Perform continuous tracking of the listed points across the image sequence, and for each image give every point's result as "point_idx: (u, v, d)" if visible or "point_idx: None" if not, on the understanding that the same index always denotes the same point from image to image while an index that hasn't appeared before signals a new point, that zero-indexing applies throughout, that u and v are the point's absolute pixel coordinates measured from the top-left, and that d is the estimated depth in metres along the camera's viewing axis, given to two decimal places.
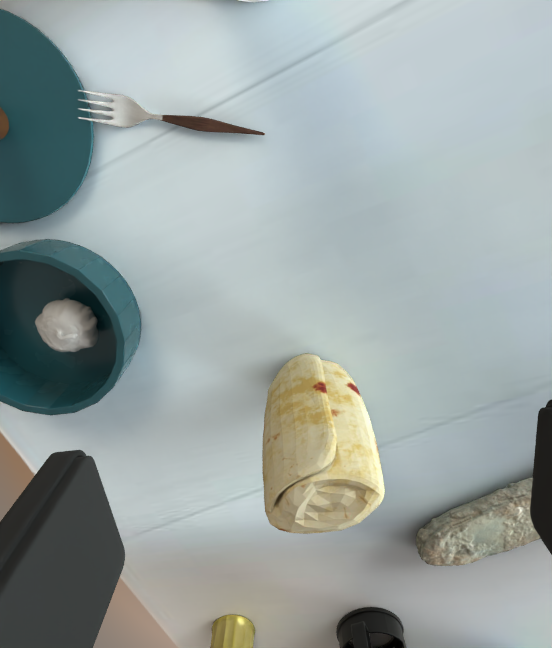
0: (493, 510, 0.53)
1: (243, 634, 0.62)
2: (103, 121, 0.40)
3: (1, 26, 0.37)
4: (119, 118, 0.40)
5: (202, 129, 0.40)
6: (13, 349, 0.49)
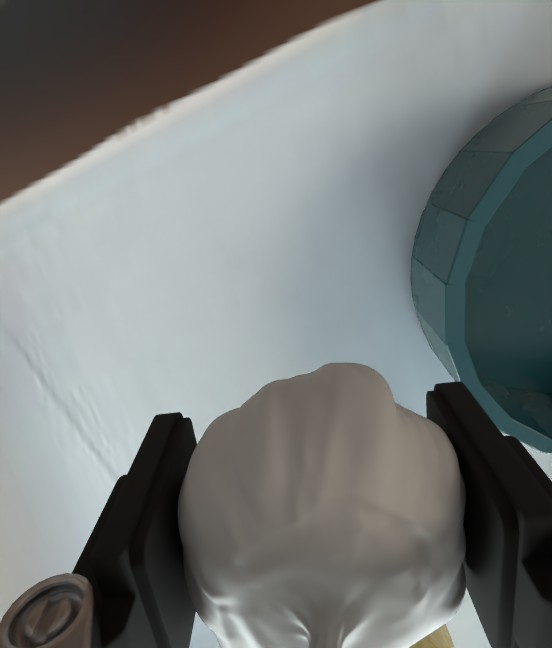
0: None
1: None
2: None
3: None
4: None
5: None
6: None
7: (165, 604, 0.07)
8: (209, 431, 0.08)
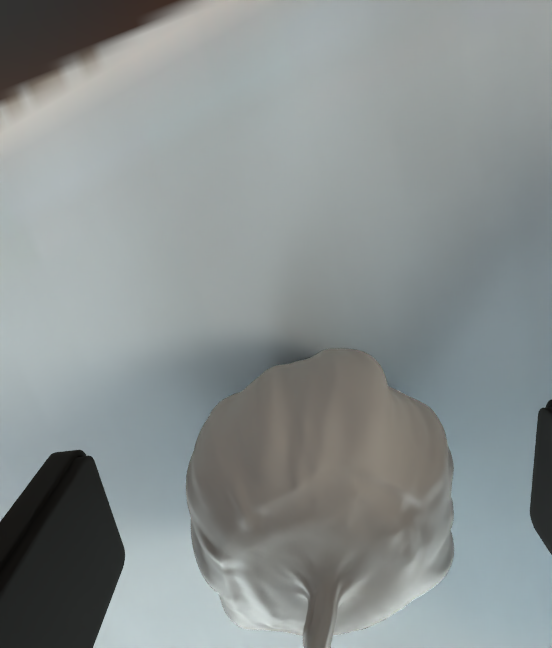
0: None
1: None
2: None
3: None
4: None
5: None
6: None
7: None
8: (215, 411, 0.09)
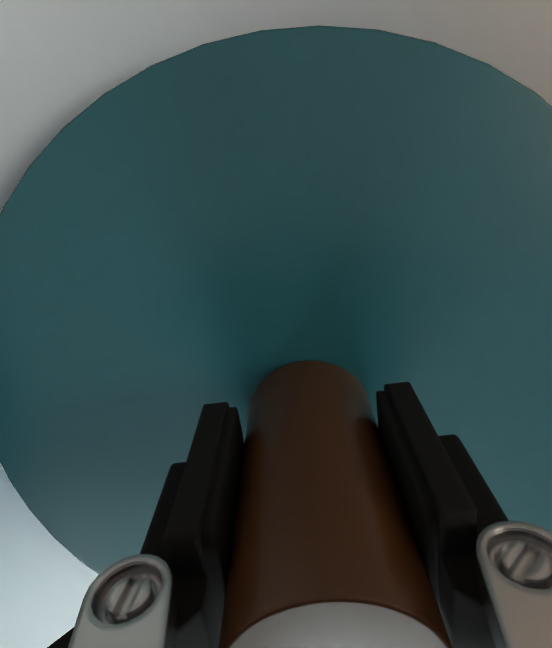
0: None
1: None
2: None
3: None
4: None
5: None
6: None
7: None
8: None
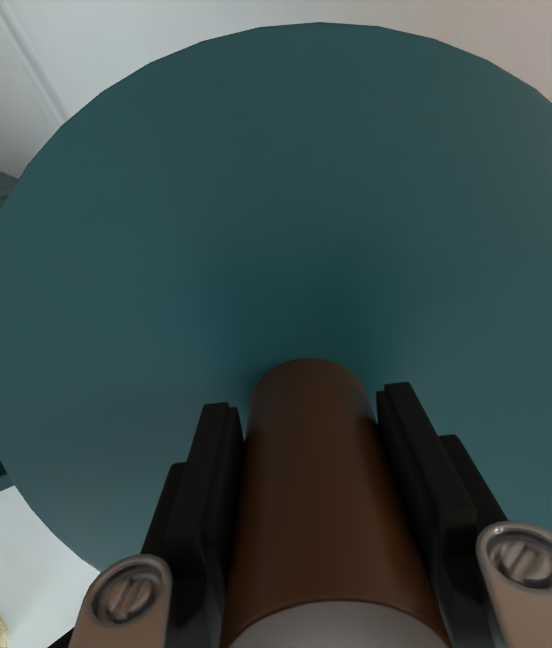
0: None
1: None
2: None
3: None
4: None
5: None
6: None
7: None
8: None
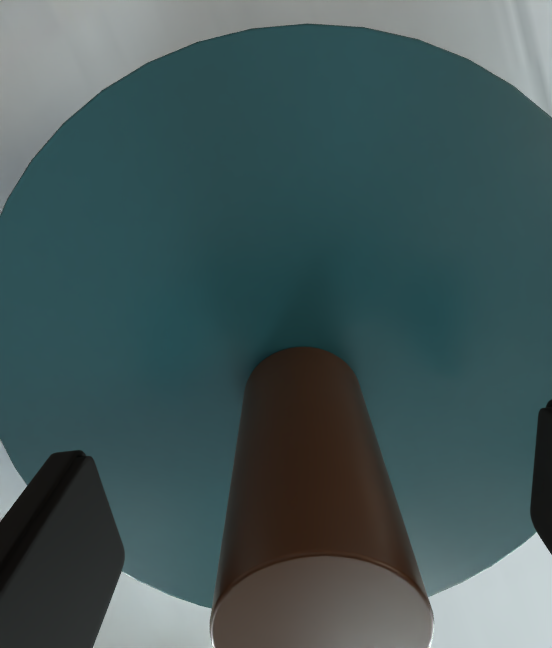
0: None
1: None
2: None
3: None
4: None
5: None
6: None
7: None
8: None
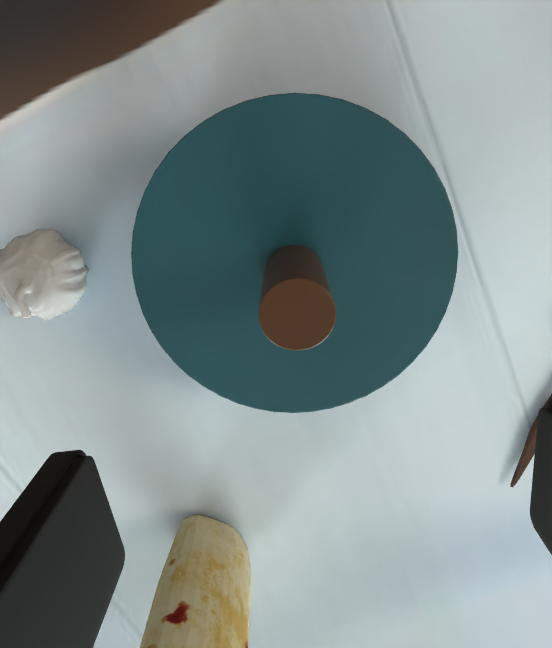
0: None
1: None
2: None
3: (420, 317, 0.26)
4: None
5: (535, 431, 0.34)
6: None
7: None
8: None
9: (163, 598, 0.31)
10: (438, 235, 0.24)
